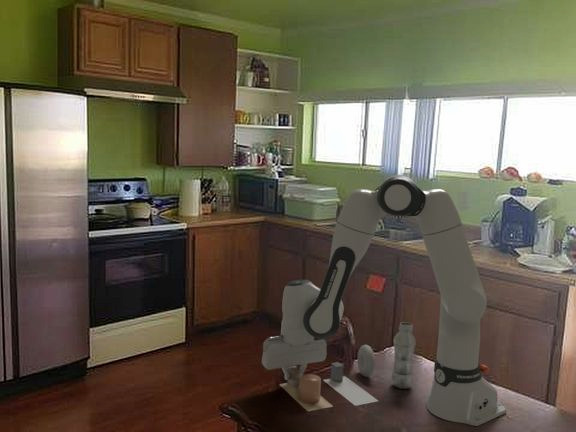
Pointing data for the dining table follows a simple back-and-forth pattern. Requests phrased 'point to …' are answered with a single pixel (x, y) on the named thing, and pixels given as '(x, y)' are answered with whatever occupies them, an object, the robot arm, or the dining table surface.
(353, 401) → the grey strip
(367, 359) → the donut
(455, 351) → the robot arm
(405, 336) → the plastic bottle
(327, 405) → the oak strip
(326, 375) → the dining table surface
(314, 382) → the terracotta cylinder
